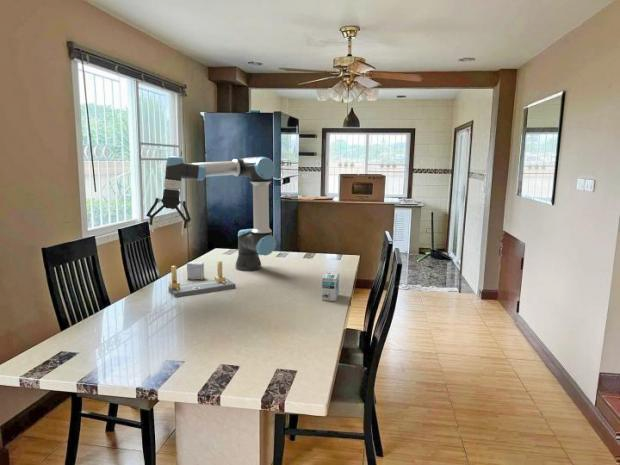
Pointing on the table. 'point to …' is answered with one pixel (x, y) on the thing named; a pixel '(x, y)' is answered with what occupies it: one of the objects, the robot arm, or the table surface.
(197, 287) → the grey lever plate
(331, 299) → the light bulb box
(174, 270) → the gold piece
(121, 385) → the table surface
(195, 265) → the medicine box
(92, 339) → the table surface
